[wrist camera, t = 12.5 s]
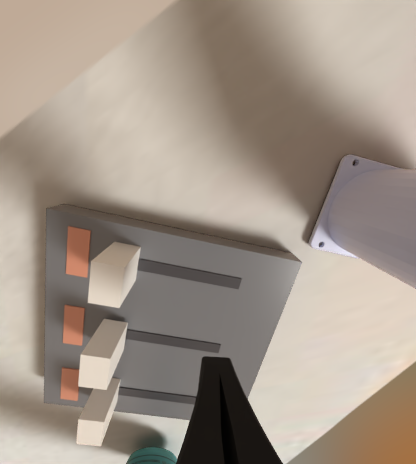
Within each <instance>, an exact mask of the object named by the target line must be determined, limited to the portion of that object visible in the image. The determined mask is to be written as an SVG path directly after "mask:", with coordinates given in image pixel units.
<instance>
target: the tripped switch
mask: <svg viewBox="0 0 416 464" xmlns="http://www.w3.org/2000/svg"><path fill="white" fill-rule="evenodd" d="M127 325H128V323H127V322H121V321H115V320H109V319H103V321H102V323H101V324H100V326H99V327H98V329H97V330H96V332H95V333H94V335H93V336H92V338H91V339H90V341H89V342H88V344H87V346H86V347H85V349H84V350H83V352H82V353H81V356H80V369H79V382H78V386H79V387H86V388H94V389H102V390H107V388H108V385H109V383H110V381H111V378H112V376H113V374H114V371H115V369H116V367H117V364H118V362H119V360H120V357H121V355H122V353H123V350H124V345H125V338H126V332H127Z"/></svg>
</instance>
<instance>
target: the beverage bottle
mask: <svg viewBox="0 0 416 464" xmlns="http://www.w3.org/2000/svg"><path fill="white" fill-rule="evenodd" d="M176 462H177V458H176V456H175V455H174V454H173V453H172V452H170V451H168V450H166V449H163V448H158V447H147V448H142V449H139V450H137V451H135V452H134V453H133V454H131V456H130V457H129V459H128V461H127V463H126V464H176Z"/></svg>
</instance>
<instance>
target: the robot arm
mask: <svg viewBox="0 0 416 464" xmlns="http://www.w3.org/2000/svg"><path fill="white" fill-rule="evenodd" d="M354 160H355V165H354V166H353V164H352V163H353V161H354ZM320 242H322V244H321V245H320V246H319V243H320ZM309 245H310V247H312V248H314V249H319V250H323V251H328V252H332V253H337V254H341V255H346V256H350V257H355V258H359V259H362V260H364V261H366V262H367V263H369V264H371V265H373V266H375V267H377V268H378V269H380V270H382V271H384V272H386V273H388V274H389V275H391V276H393V277H395V278H397V279H399V280H401V281H402V282H404V283H406V284H408V285H410V286H412V287H413V288H415V289H416V169H402V168H398V167H395V166H391V165H387V164H384V163H380V162H377V161H373V160H369V159H366V158H362V157H358V156H355V155H346V156H344V157H343V158H342V160H341V162H340V164H339V167H338V169H337V172H336V174H335V177H334V180H333V182H332V185H331V187H330V190H329V192H328V195H327V197H326V200H325V202H324V205H323V207H322V210H321V212H320V215H319V217H318V220H317V222H316V225H315V227H314V230H313V232H312V235H311V237H310V240H309ZM176 464H283V463H282V462H281V460H280V458H279V457H278V455H277V453H276V452H275V450H274V448H273V446H272V445H271V443H270V441H269V439H268V438H267V436H266V434H265V432H264V430H263V429H262V427H261V425H260V423H259V421H258V419H257V417H256V415H255V413H254V412H253V409H252V407H251V405H250V403H249V401H248V399H247V397H246V395H245V393H244V391H243V389H242V386H241V384H240V382H239V379H238V377H237V375H236V372H235V370H234V367H233V364H232V361H231V359H230V358H227V357H209V356H204V357H203V358H202V361H201V368H200V376H199V383H198V392H197V396H196V401H195V405H194V409H193V412H192V415H191V419H190V422H189V426H188V429H187V432H186V435H185V438H184V442H183V444H182V447H181V450H180V453H179V456H178V459H177V462H176Z"/></svg>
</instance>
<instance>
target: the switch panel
mask: <svg viewBox="0 0 416 464" xmlns="http://www.w3.org/2000/svg"><path fill="white" fill-rule="evenodd" d="M301 264H302V262H301V261H300V260H299V259H298V258H297V257H296V256H295V255H293V254H292V253H290V252H285V251H280V250H276V249H271V248H266V247H262V246H257V245H252V244H248V243H243V242H238V241H234V240H229V239H225V238H220V237H215V236H211V235H206V234H201V233H197V232H192V231H187V230H183V229H178V228H173V227H169V226H164V225H159V224H155V223H150V222H145V221H141V220H136V219H131V218H127V217H122V216H118V215H113V214H108V213H104V212H99V211H94V210H90V209H85V208H80V207H76V206H71V205H66V204H62V205H58V206H54V207H50V208H46V280H45V359H44V403H50V404H58V405H67V406H75V407H83V408H84V409H83V411H82V413H81V415H80V417H79V419H78V429H77V441H76V444H82V445H92V446H101V445H102V442H103V439H104V436H105V434H106V431H107V428H108V425H109V423H110V420H111V417H112V414H113V412H114V411H117V412H126V413H134V414H143V415H151V416H160V417H168V418H177V419H185V420H190V419H191V415H192V412H193V409H194V405H195V401H196V396H197V392H198V383H199V376H200V368H201V361H202V358H203V357H204V356H209V357H227V358H230V359H231V361H232V364H233V367H234V370H235V372H236V375H237V377H238V379H239V382H240V384H241V386H242V389H243V391H244V393H245V395H246V397H247V399H248V396H249V394H250V391H251V389H252V386H253V384H254V381H255V379H256V376H257V374H258V371H259V369H260V366H261V364H262V361H263V359H264V356H265V354H266V351H267V349H268V346H269V344H270V341H271V339H272V336H273V334H274V331H275V329H276V326H277V324H278V321H279V319H280V316H281V314H282V311H283V309H284V306H285V304H286V301H287V299H288V296H289V294H290V291H291V289H292V286H293V284H294V281H295V279H296V276H297V274H298V271H299V269H300V266H301ZM103 319H109V320H115V321H121V322H127V323H128V325H127V332H126V338H125V345H124V350H123V353H122V355H121V357H120V360H119V362H118V364H117V367H116V369H115V371H114V374H113V376H112V378H111V381H110V383H109V385H108V388H107V390H102V389H94V388H86V387H79V386H78V382H79V369H80V356H81V353H82V352H83V350H84V349H85V347H86V346H87V344H88V342H89V341H90V339H91V338H92V336H93V335H94V333H95V332H96V330H97V329H98V327H99V326H100V324H101V323H102V321H103Z"/></svg>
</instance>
